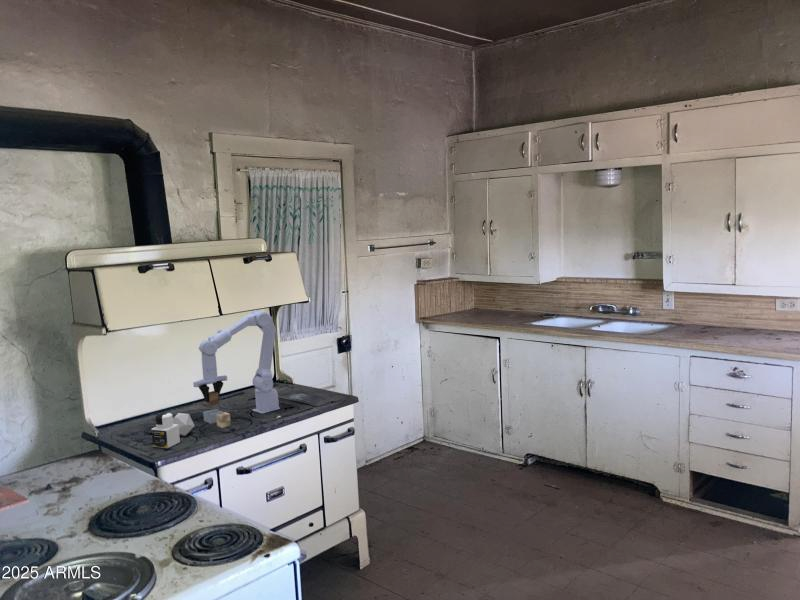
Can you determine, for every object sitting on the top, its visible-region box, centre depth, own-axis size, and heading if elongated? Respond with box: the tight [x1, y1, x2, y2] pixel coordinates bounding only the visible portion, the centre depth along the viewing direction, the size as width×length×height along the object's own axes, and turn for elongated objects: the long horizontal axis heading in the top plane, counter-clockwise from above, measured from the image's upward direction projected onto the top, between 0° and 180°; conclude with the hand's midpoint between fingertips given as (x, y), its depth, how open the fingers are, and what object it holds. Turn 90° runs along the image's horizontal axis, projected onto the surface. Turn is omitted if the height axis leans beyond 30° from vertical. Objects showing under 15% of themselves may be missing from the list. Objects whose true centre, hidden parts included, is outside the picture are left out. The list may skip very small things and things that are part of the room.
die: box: [173, 412, 195, 437], centre depth 258 cm, size 8×9×10 cm
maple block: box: [216, 411, 232, 429], centre depth 267 cm, size 4×4×5 cm
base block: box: [202, 408, 224, 424], centre depth 275 cm, size 6×6×4 cm
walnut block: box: [204, 390, 220, 407], centre depth 274 cm, size 4×4×5 cm
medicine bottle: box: [150, 412, 181, 449], centre depth 246 cm, size 7×7×12 cm
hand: (212, 400), depth 274 cm, fingers closed on walnut block, 4 cm apart
